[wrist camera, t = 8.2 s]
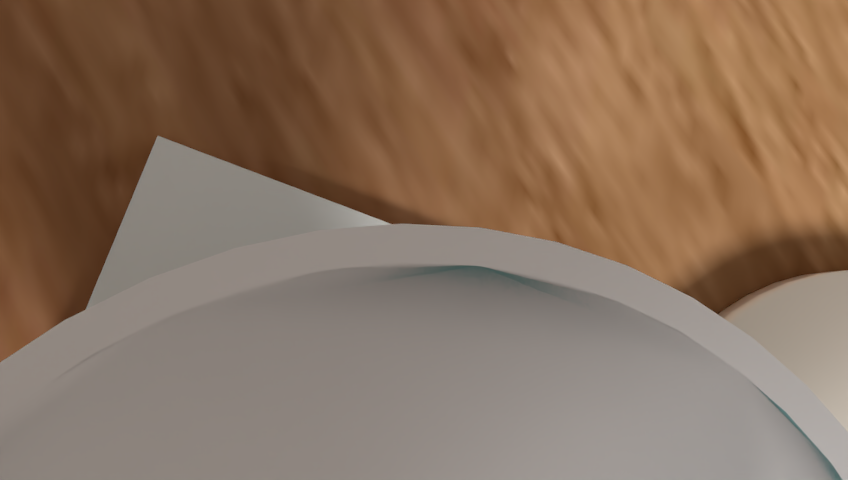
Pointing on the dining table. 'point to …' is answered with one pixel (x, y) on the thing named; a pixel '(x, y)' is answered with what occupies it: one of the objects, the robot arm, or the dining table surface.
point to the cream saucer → (803, 331)
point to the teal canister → (407, 372)
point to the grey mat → (206, 215)
